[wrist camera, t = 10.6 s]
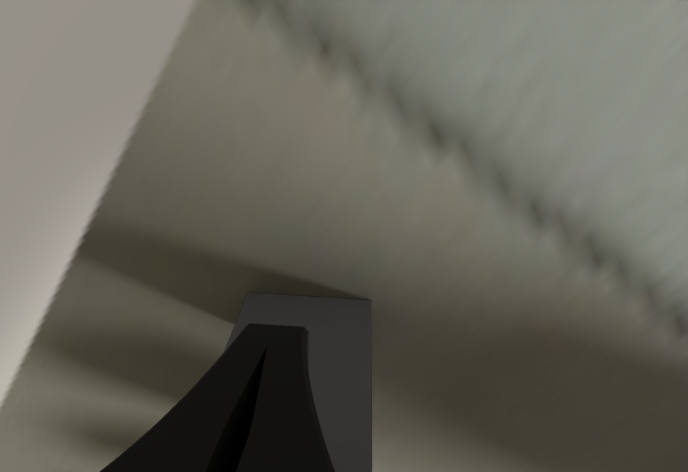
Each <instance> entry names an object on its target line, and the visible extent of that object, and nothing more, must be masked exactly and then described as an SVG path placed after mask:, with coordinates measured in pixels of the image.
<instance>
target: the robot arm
mask: <svg viewBox="0 0 688 472" xmlns="http://www.w3.org/2000/svg"><path fill="white" fill-rule="evenodd" d="M308 370H309V331H308V330H307V329H306V328H305V327H301V326H285V325H269V324H252V323H249V324H248V325H247V326H246V327H245V328H244V329H243V330H242V331H241V333H240V334H239V335H238V336H237V338H236V339H235V340H234V341H233V343H232V344H231V345H230V346H229V347H228V349H227V350H226V351H225V352H224V353H223V355H222V356H221V357H220V358H219V359H218V360H217V362H216V363H215V364H214V365H213V366H212V367H211V368H210V369H209V370H208V372H207V373H206V374H205V375H204V376H203V377H202V378H201V379H200V380H199V381H198V382H197V384H196V385H195V386H194V387H193V388H192V389H191V390H190V391H189V392H188V393H187V394H186V395H185V396H184V397H183V398H182V399H181V400H180V401H179V402H178V403H177V404H176V405H175V406H174V407H173V408H172V409H171V410H170V411H169V412H168V413H167V414H166V415H165V416H164V417H163V418H162V419H161V420H160V421H159V422H158V423H157V424H155V425H154V426H153V427H152V428H151V429H150V430H149V431H148V432H147V433H146V434H144V435H143V436H142V437H141V438H140V439H139V440H138V441H137V442H135V443H134V444H133V445H132V446H131V447H129V448H128V449H127V450H126V451H125V452H124V453H122V454H121V455H120V456H119V457H118V458H116V459H115V460H114V461H113V462H111V463H110V464H109V465H108V466H106V467H105V468H104V469H102V470H101V471H100V472H335V470H334V467H333V464H332V461H331V459H330V456H329V453H328V450H327V447H326V443H325V440H324V437H323V434H322V430H321V427H320V423H319V419H318V416H317V412H316V408H315V404H314V399H313V394H312V389H311V384H310V378H309V372H308Z"/></svg>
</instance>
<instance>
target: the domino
mask: <svg viewBox="0 0 688 472" xmlns="http://www.w3.org/2000/svg"><path fill="white" fill-rule="evenodd" d="M249 323H252V324H269V325H285V326H301V327H305V328H306V329H307V330H308V331H309V370H308V372H309V378H310V384H311V389H312V394H313V399H314V404H315V408H316V412H317V416H318V419H319V423H320V427H321V430H322V434H323V437H324V440H325V443H326V447H327V450H328V453H329V456H330V459H331V461H332V464H333V467H334V470H335V472H372V358H371V300H362V299H346V298H329V297H312V296H296V295H279V294H263V293H248V294H247V296H246V299H245V301H244V303H243V306H242V308H241V311H240V313H239V316H238V318H237V321H236V323H235V326H234V328H233V331H232V333H231V336H230V338H229V341H228V343H227V346H226V348H225V351H226V350H227V349H228V347H229V346H230V345H231V344H232V343H233V341H234V340H235V339H236V338H237V336H238V335H239V334H240V333H241V331H242V330H243V329H244V328H245V327H246V326H247V325H248V324H249ZM225 351H224V352H225Z"/></svg>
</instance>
